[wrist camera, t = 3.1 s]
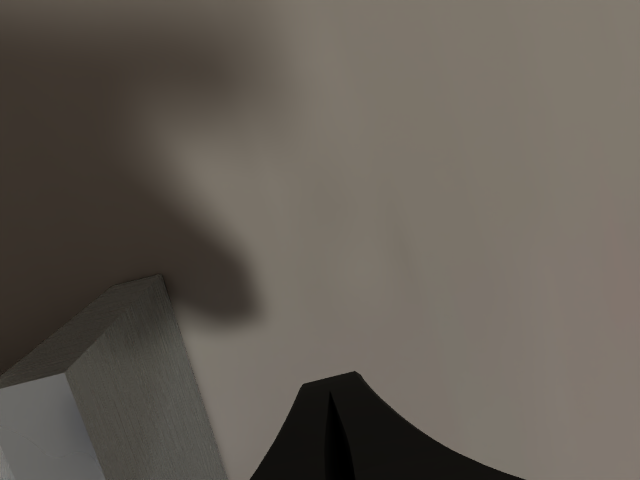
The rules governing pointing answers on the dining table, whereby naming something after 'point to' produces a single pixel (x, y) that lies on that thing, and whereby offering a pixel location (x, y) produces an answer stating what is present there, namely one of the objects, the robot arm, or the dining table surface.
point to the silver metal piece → (109, 398)
